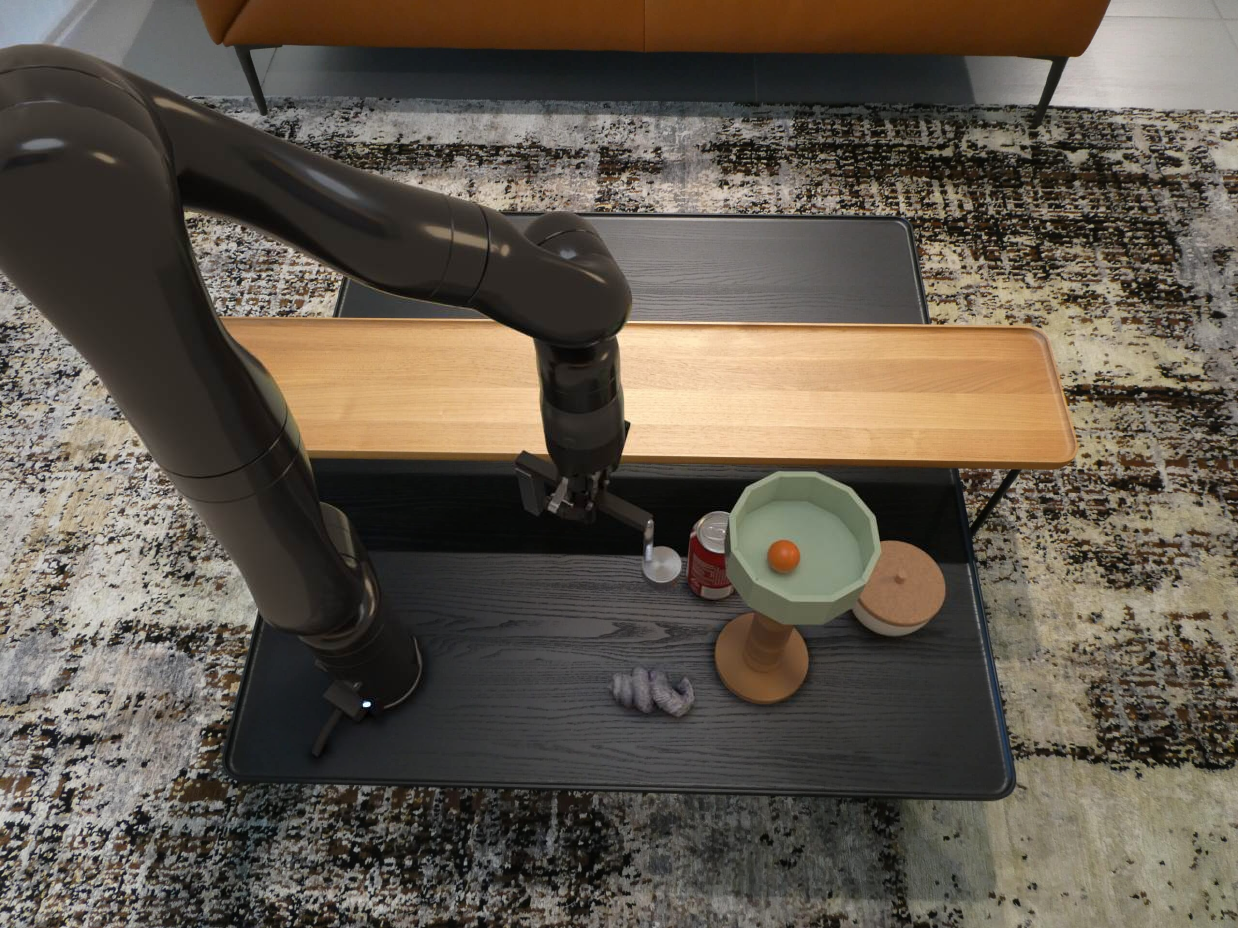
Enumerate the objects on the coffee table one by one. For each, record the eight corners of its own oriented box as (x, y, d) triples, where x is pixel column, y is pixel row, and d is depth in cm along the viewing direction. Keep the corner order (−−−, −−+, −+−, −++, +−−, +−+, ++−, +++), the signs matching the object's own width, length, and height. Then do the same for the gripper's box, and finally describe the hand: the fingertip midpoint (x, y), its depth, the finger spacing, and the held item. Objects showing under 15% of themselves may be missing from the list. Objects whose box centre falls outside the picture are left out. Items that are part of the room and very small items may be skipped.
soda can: (735, 606, 104) (746, 562, 94) (681, 596, 105) (686, 552, 95) (742, 558, 108) (753, 511, 98) (690, 549, 109) (695, 502, 99)
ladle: (688, 565, 93) (693, 521, 85) (668, 597, 91) (671, 554, 83) (539, 489, 99) (530, 440, 91) (518, 517, 97) (507, 469, 89)
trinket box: (936, 589, 105) (960, 554, 98) (913, 663, 100) (936, 633, 92) (853, 556, 108) (870, 519, 100) (826, 626, 103) (842, 594, 95)
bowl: (832, 650, 74) (844, 628, 70) (700, 581, 78) (703, 556, 74) (887, 537, 80) (901, 510, 76) (762, 478, 84) (768, 449, 80)
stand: (783, 721, 96) (826, 633, 75) (698, 674, 100) (716, 576, 78) (821, 643, 102) (872, 539, 80) (739, 600, 105) (767, 489, 83)
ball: (810, 552, 75) (799, 580, 77) (797, 536, 78) (786, 563, 79) (780, 548, 75) (769, 577, 76) (768, 531, 77) (758, 559, 78)
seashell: (693, 699, 99) (609, 695, 100) (695, 660, 98) (609, 655, 98) (693, 727, 94) (604, 722, 95) (695, 685, 93) (605, 681, 93)
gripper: (588, 348, 80) (595, 450, 95) (505, 450, 74) (526, 543, 88) (656, 379, 78) (653, 479, 93) (577, 486, 72) (587, 576, 86)
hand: (591, 510), depth 91 cm, fingers closed on ladle
